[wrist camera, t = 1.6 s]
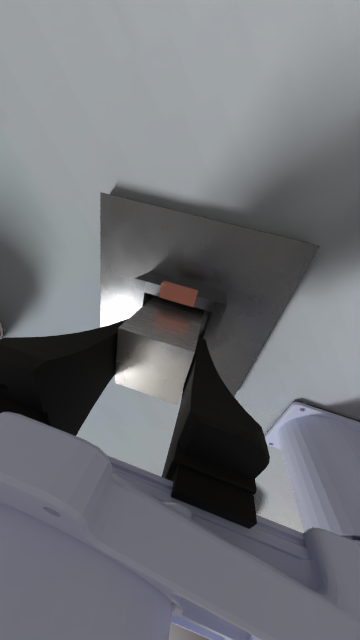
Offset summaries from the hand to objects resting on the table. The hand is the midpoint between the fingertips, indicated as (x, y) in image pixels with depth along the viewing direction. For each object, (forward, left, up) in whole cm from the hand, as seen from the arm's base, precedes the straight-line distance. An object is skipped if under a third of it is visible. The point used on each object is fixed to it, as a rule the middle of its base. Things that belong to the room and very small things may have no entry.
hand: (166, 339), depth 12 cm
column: (0, 0, -4) cm, 4 cm away
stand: (0, 0, -5) cm, 5 cm away
